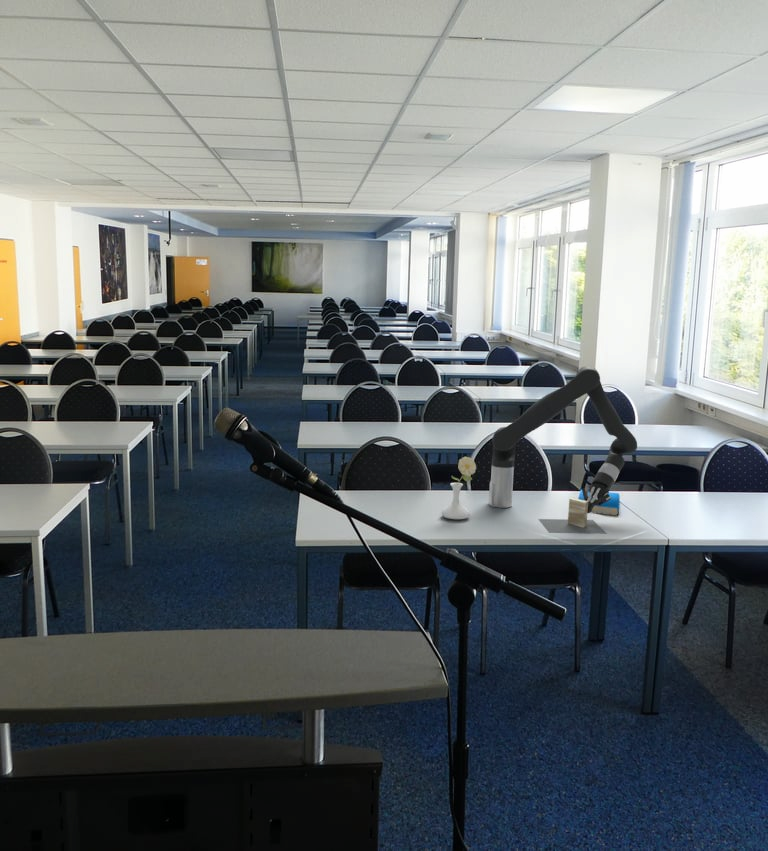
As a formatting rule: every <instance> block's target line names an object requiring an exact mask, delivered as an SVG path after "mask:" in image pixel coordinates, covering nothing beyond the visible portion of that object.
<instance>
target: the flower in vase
mask: <svg viewBox="0 0 768 851" xmlns="http://www.w3.org/2000/svg"><path fill="white" fill-rule="evenodd" d="M457 465H458V467H457V468H458V470H459V472H460V473H461V477H460V479H459V478H457V477H455V476H453V475H451V479H453V480H455V481H457V482H451V483H450V486H451V488H452V491H453V492H452V494H453V498H452V502H451V503H449V504H448V505H447V506H446V507H444V508H443V509H442V510H441V512H440V513H441V516H442V517H444V518H446V519H449V520H465V519H468V518H469V517H470V515H471V513H470V511H469V510H468V509H467V508H466V507H465V506H463V504H461V503H460V492H461V489H462V487H463V486H464V484H463V483H461V480H462V479H463V480H464V481H465V482H469V481H472V480H473V478H472V477H471V476H472V475H474V474H475V473H476V470H477V464H476V463H475V461H474V459H473V458H471V457H470V456H468V457H467V456H464V457H461V458H460V459H459V460H458V463H457Z"/></svg>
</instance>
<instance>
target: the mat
mask: <svg viewBox="0 0 768 851" xmlns="http://www.w3.org/2000/svg"><path fill="white" fill-rule="evenodd" d="M538 521H539V522H540V523H541V524H542V526H543V527H544V528H545V530H546V531H547V532H548V533H550V534H600V535H601V534H605V535H606V534H608V532H606V531H605V530H604V529H603V528H602V527H601V525H599V524H598V523H597V522H596V521H595V520H594V519H587V527H584V528H582V527H579V526H575V525H572V524H568V518H565V519H563V518H562V519H561V518H560V519H559V518H558V519H557V518H538Z"/></svg>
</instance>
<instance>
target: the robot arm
mask: <svg viewBox="0 0 768 851" xmlns="http://www.w3.org/2000/svg"><path fill="white" fill-rule="evenodd" d="M584 395H588V397H589V399H590V401H591V403H592V404H593V406H594V408H595V411H596V413H597V415H598V417H599V419H600V422H601V424H602V425H603V427H604V429H605V431H606V432H607V434H608V435H609V436H612V437H615V439H614V440H613V441H612V442H611V444H610V447H609V450H608V455H607V457H606V459H605V460H604V463H603V464H602V465H601V467H600V468H599V469H598V471H597V473H596V474H595V476H594V478H593V480H592V482H591V484H590V485H589V486H588V487H587V488H582V489H581V490H582V492H583V497H584V500H585V501H588V513H587V514H590V512H591V511H592V509H593V507H594V506H595V505H598V506H600V505H602V504H603V503H605V502H607V501H609V500H611V497H610V495H609V494H608V493H609V492H610V491H611V489H612V487H613V486H614V485H615V482H616V480H617V478H618V476H619V474H620V473H621V470H622V469H623V467H624V465H625V458H624V457H623V456H624V455H627V454H632V453H634V452H636V450H637V449H638V441H637V439H636V437H635V436H634V434H633V433H632V432H631V431H630V430H629V429H628V428H627V427H626V426H625V424H624V423H623V422H622V420H621V418H620V416H619V414H618V412H617V411H616V409H615V406H613V404H612V403H611V400H610V399H609V398H608V396H607V394H606V391H605V390H604V388H603V386H602V382H601V376H600V373H599V371H598V370H597V369H596V368H595V367H593V366H590V365H587V366H586V365H585V366H582V367H580V368H579V369H578V371H577V372H576V374H575V376H574V377H572V379H571V380H570V381H569V382H567V383H566V384H564V386H562V387H560V388H558V389H555V390H553V391H551V392H549V393H547V394H546V395H544V396H542V397H541V398H540V399H539V400H537V401H536V402H534V403H533V404H532V405H531V406H530V407H528V408H527V409H526V410H525V411H524V412H523V413H522V414H521V415H520V416H519V417H518V418H517V419H515V421H513V422H511V423H510V424H508V425H507V426H502V427H498V429H497V430H495V432H494V433H493V434H492V435H493V436H492V440H491V442H492V457H491V470H490V471H491V473H490V474H491V476H490V481H489V488H488V489H489V491H488V493H489V494H488V504H489V506H490V507H492V508H494V507H495V508H499V509H501V508H502V509H504V508H505V509H507V508H511V507H512V505H513V504H512V503H513V486H514V469H515V457H516V445H517V443H518V442H520V441H521V440H522V439H523V438H524V437H525V436H527V435H528V434H530V433H531V432H533V431H535V430H537V429H539V428H540V427H542V426H543V425H545V424H546V423H548V422H550V420H552V419H553V418H555V417H556V416H557V415H559V414H560V413H562V412H563V411H564V410H565V409H566V408H568V407H569V406H570V405H571V404H572V403H573V402H574V401H576V400H578V399H579V398H581V397H582V396H584ZM588 493H590V494H589V497H588ZM600 501H601V502H600Z"/></svg>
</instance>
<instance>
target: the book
mask: <svg viewBox="0 0 768 851" xmlns="http://www.w3.org/2000/svg"><path fill="white" fill-rule="evenodd" d="M589 494H590V493H588V497H589ZM608 494H609V495H610V497H611V500H609V501H607V502H605V503H603V504H602V505H600V506H598V505H595V506H594V507H593V509H592V511H591V512H594V513H593V514H599V513H604V514H603V515H609V514H613V515H612V516H618V515H619V512H620V500H621V495H620V493H619V492H618V493H617V492H610V491H609V493H608ZM577 499H580V500H584V497H583V492H582V489H580V491H579V495H578V498H577ZM584 501H585V500H584ZM600 502H601V501H600ZM617 514H618V515H617Z"/></svg>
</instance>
